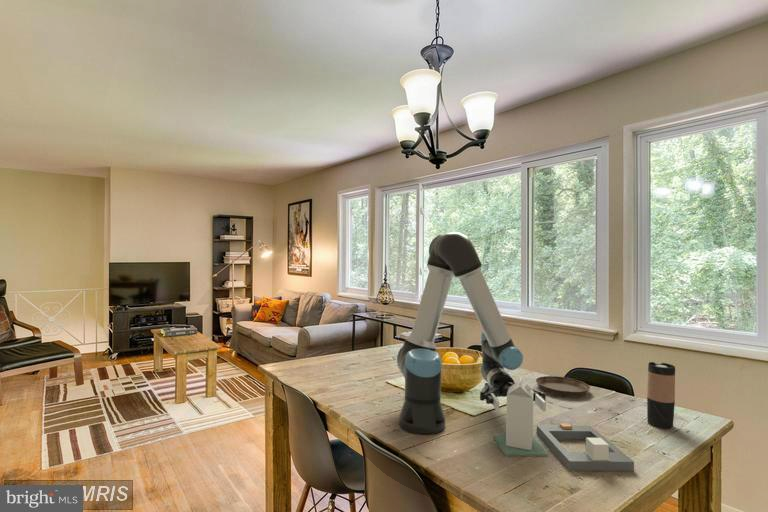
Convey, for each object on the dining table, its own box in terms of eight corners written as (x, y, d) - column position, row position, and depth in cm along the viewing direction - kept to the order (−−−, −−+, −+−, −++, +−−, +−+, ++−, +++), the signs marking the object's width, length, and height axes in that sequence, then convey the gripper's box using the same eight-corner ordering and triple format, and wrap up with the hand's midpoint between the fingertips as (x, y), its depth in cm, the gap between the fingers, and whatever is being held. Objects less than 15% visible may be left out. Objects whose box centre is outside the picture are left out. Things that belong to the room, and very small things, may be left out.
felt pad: (505, 455, 114) (505, 453, 114) (492, 436, 126) (493, 434, 126) (547, 456, 114) (547, 454, 114) (531, 436, 126) (531, 434, 126)
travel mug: (665, 431, 132) (667, 369, 132) (641, 422, 139) (643, 363, 138) (678, 426, 135) (680, 366, 135) (654, 418, 142) (656, 360, 142)
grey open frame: (569, 470, 107) (569, 445, 107) (536, 433, 129) (537, 411, 129) (633, 471, 107) (634, 445, 107) (590, 433, 129) (590, 412, 129)
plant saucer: (544, 379, 184) (545, 372, 184) (595, 390, 171) (595, 382, 171) (528, 391, 168) (528, 383, 168) (582, 404, 155) (582, 395, 155)
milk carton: (505, 446, 118) (506, 381, 118) (507, 436, 125) (509, 374, 125) (531, 451, 116) (533, 384, 115) (532, 440, 122) (533, 377, 122)
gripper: (537, 393, 140) (563, 419, 119) (464, 392, 141) (477, 418, 119) (537, 372, 140) (564, 394, 119) (464, 370, 140) (478, 392, 119)
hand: (521, 406), depth 119 cm, fingers open, 13 cm apart
